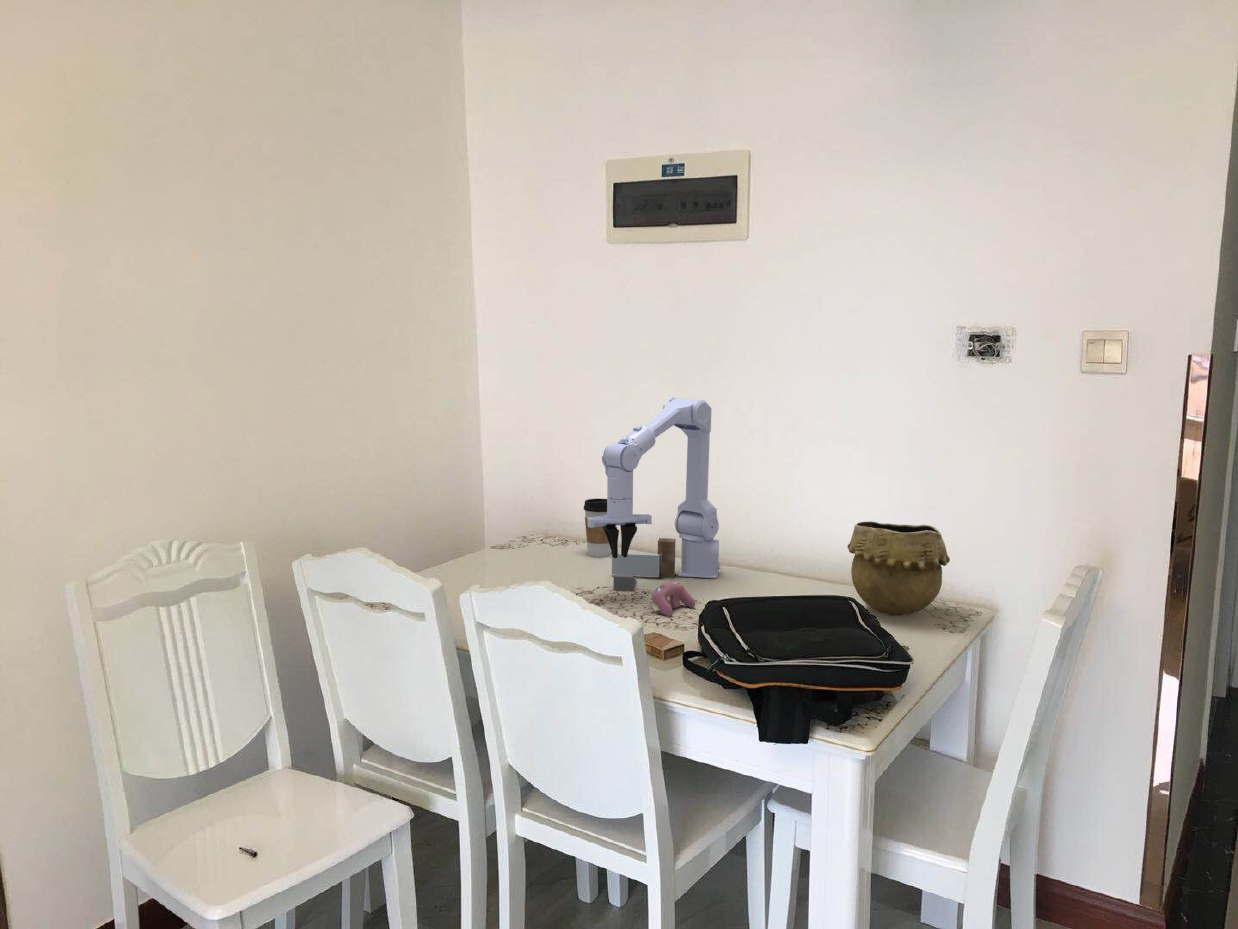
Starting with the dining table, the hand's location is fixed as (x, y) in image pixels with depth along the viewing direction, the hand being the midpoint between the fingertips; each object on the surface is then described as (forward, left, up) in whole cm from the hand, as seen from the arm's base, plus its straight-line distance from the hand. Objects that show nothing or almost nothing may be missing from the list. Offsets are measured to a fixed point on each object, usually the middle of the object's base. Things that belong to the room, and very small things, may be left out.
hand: (619, 556), depth 216 cm
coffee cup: (+12, -39, -10) cm, 42 cm away
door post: (-8, -21, -9) cm, 24 cm away
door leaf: (-1, -18, -9) cm, 20 cm away
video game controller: (-13, +7, -10) cm, 18 cm away
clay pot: (-60, 0, -10) cm, 61 cm away
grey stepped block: (0, -9, -10) cm, 13 cm away
